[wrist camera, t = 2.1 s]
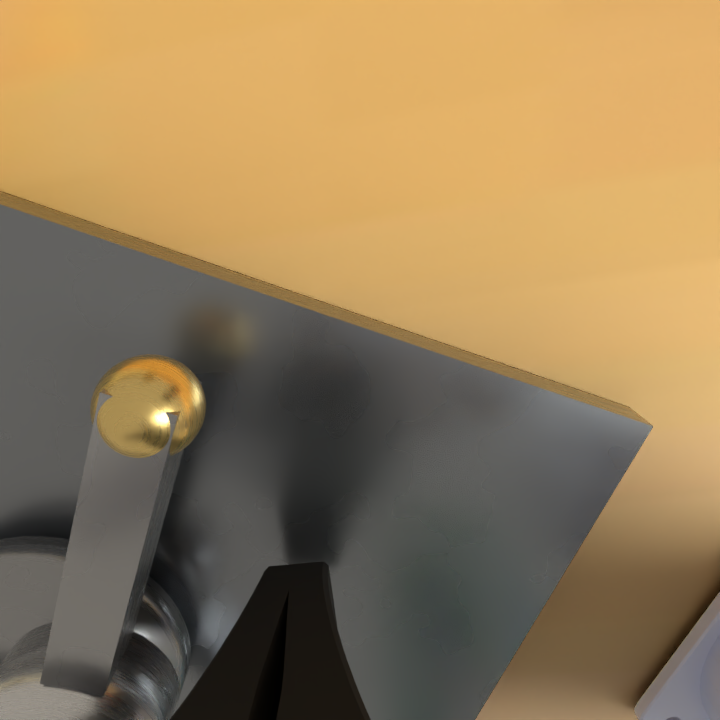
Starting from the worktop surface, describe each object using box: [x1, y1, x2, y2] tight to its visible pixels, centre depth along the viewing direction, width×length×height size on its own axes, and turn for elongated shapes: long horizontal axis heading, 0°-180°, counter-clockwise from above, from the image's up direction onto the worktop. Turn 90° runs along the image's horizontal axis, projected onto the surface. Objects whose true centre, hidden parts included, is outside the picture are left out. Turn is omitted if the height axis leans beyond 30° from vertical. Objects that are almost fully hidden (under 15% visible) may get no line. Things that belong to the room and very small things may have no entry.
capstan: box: [0, 354, 206, 720], centre depth 11 cm, size 16×14×3 cm
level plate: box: [0, 191, 653, 720], centre depth 13 cm, size 20×20×2 cm
